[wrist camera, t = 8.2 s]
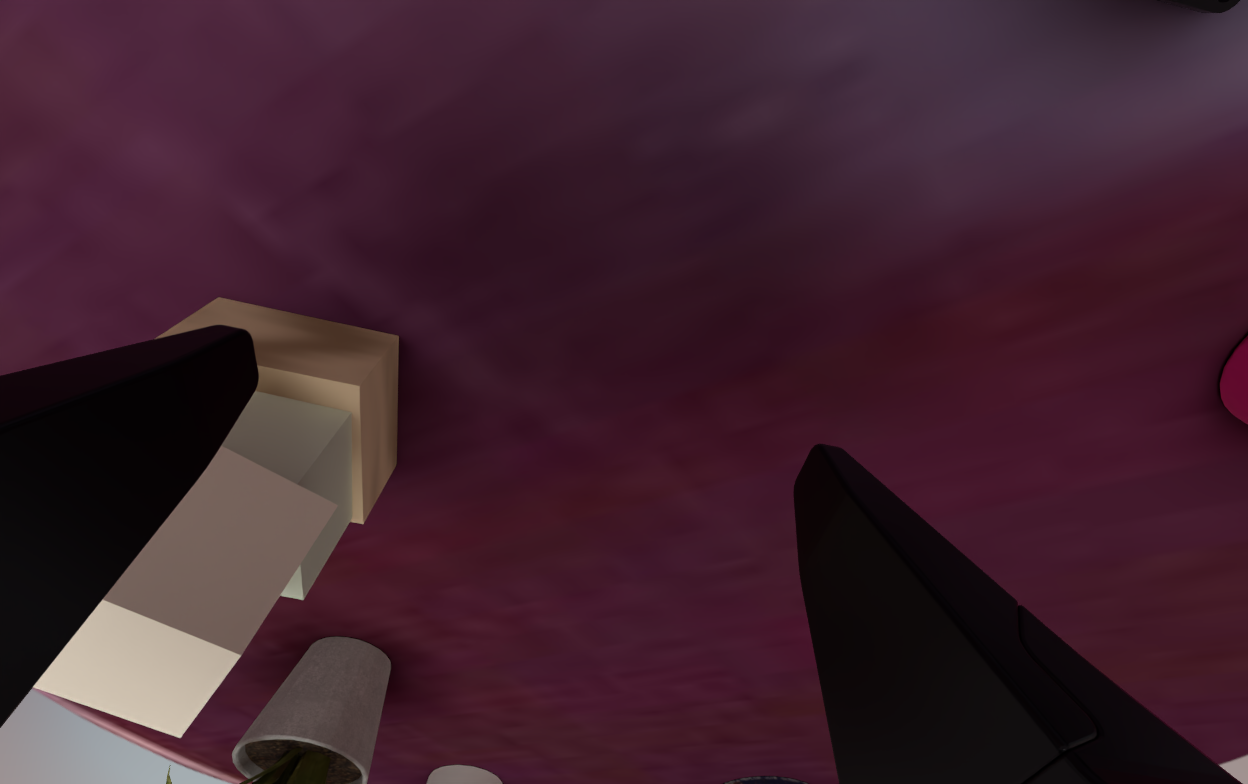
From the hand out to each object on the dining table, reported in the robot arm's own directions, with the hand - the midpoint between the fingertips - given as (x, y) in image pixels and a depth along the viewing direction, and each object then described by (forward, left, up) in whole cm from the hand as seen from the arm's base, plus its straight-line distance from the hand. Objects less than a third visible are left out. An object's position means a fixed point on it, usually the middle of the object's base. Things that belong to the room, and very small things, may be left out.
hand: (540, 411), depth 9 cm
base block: (+11, +11, -13) cm, 20 cm away
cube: (+9, +10, -5) cm, 14 cm away
